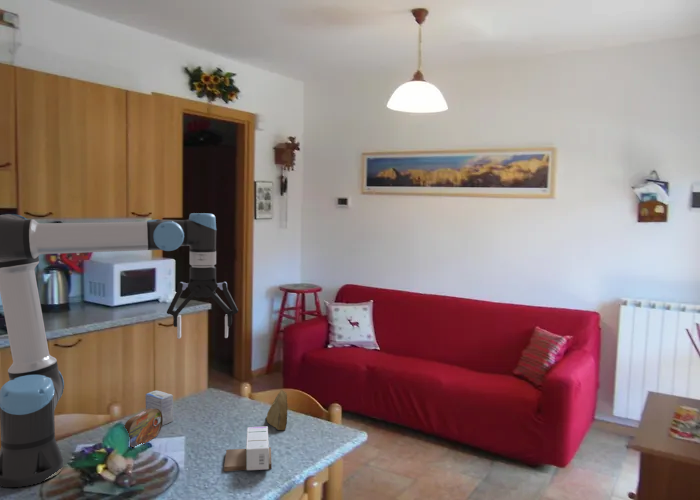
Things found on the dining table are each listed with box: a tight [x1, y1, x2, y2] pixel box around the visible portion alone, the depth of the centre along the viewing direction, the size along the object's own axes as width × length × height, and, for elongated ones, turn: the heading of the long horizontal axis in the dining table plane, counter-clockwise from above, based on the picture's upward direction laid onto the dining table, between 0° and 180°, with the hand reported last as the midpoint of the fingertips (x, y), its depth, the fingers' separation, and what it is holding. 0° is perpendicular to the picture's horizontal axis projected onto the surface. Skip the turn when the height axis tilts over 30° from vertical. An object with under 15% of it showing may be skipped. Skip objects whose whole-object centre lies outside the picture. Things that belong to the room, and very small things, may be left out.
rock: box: [265, 390, 288, 431], centre depth 172 cm, size 11×9×10 cm
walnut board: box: [223, 446, 272, 472], centre depth 148 cm, size 12×10×1 cm
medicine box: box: [145, 390, 174, 426], centre depth 173 cm, size 8×4×9 cm, turn 58°
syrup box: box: [245, 425, 270, 471], centre depth 147 cm, size 6×6×14 cm
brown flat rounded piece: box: [123, 408, 163, 447], centre depth 158 cm, size 15×3×8 cm, turn 163°
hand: (203, 337), depth 164 cm, fingers open, 13 cm apart
